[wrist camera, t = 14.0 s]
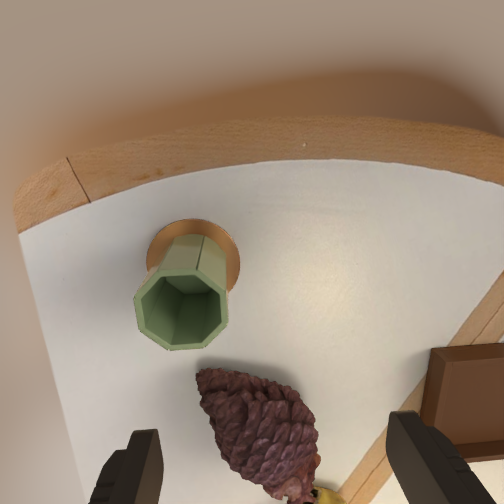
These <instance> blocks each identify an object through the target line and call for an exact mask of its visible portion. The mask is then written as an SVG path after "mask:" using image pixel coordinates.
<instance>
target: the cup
mask: <svg viewBox="0 0 504 504" xmlns="http://www.w3.org/2000/svg"><path fill="white" fill-rule="evenodd" d="M133 300H134V306H135V311H136V317H137V323H138V329H139V330H140V332H141V333H143V334H144V335H146V336H147V337H149V338H150V339H152V340H153V341H155V342H156V343H157V344H159V345H160V346H162V347H163V348H165V349H166V350H168V349H169V350H170V351H174V350H187V349H200V348H204V347H206V346H207V345H208V344H209V343H210V342H211V341H212V340H213V339H214V338H215V337H216V336H217V335H218V334H219V333H220V332H221V331H222V330H223V329H224V328H225V327H226V326H227V325H228V273H227V258H226V254H225V252H224V251H223V250H222V248H221V247H220V246H219V245H218V244H217V243H216V242H215V241H213V240H212V239H210V238H208V237H207V236H204V235H199V234H186V235H182V236H177V237H175V238H174V239H173V240H172V241H171V242H170V243H169V244H168V245H167V246H166V247H165V249H164V250H163V251H162V252H161V253H160V254H159V256H158V257H157V259H156V260H155V262H154V264H153V265H152V267H151V269H150V270H149V272H148V274H147V275H146V277H145V279H144V280H143V282H142V284H141V285H140V287H139V289H138V290H137V292H136V294H135V295H134V298H133Z"/></svg>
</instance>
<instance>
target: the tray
mask: <svg viewBox="0 0 504 504" xmlns="http://www.w3.org/2000/svg"><path fill="white" fill-rule="evenodd" d="M420 418H421V420H422V421H423V423H424V424H425V425H426V426H434V427H435V428H437V429H438V430H439V431H440V432H442V433H443V434H444V435H445V436H446V437H448V438H449V439H450V441H451V442H452V443H453V445H454V446H455V447H456V449H457V450H458V452H459V453H460V454H461V457H462V458H464V460H465V461H466V463H472V462H482V461H491V460H501V459H504V343H494V344H482V345H469V346H456V347H444V348H432V350H431V355H430V361H429V367H428V373H427V379H426V384H425V390H424V396H423V402H422V408H421V413H420Z"/></svg>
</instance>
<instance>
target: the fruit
mask: <svg viewBox="0 0 504 504" xmlns="http://www.w3.org/2000/svg"><path fill="white" fill-rule="evenodd" d="M310 495H311V496H312V497H314V498H316V502H315V503H313V502H303V503H302V504H347V503H346V501H345V500H344V499H343V498H342V497H341V496H340V495H338V494H337V493H336V492H334V491H333V490H329V489H323V488H321V487H313V489H312V490H311V491H310Z"/></svg>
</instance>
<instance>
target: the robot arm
mask: <svg viewBox="0 0 504 504" xmlns="http://www.w3.org/2000/svg"><path fill="white" fill-rule="evenodd" d="M386 453H387V457H388V460H389V463H390V465H391V467H392V469H393V471H394V473H395V476H396V478H397V480H398V482H399V484H400V486H401V488H402V490H403V492H404V494H405V496H406V498H407V500H408V502H409V504H496V502H495V501H494V500H493V498H492V497H491V495H490V494H489V493H488V491H487V490H486V489H485V487H484V486H483V485H482V483H481V482H480V480H479V479H478V478H477V476H476V475H475V474H474V472H473V471H471V469H470V467H469V465H468V464H467V463H466V461H465V460H464V458H462V457H461V454H460V453H459V452H458V450H457V449H456V447H455V446H454V445H453V443H452V442H451V441H450V439H449V438H448V437H446V436H445V435H444V434H443V433H442V432H440V431H439V430H438V429H437V428H435V427H434V426H426V425H425V424H424V423H423V421H422V420H421V418H420V417H419V415H418V414H417V413H416V412H415V411H414V410H406V411H393V412H391V413H390V415H389V422H388V429H387V437H386ZM163 471H164V464H163V456H162V451H161V445H160V439H159V434H158V430H157V429H147V430H135V431H133V433H132V435H131V438H130V440H129V443H128V446H127V449H124V450H116V451H115V452H114V453H113V454H112V456H111V457H110V458H109V459H108V461H107V462H106V463H105V464H104V466H103V468H102V470H101V473H100V475H99V478H98V480H97V483H96V487H95V488H94V490H93V493H92V495H91V498H90V503H88V504H158V501H159V496H160V491H161V486H162V481H163Z"/></svg>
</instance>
